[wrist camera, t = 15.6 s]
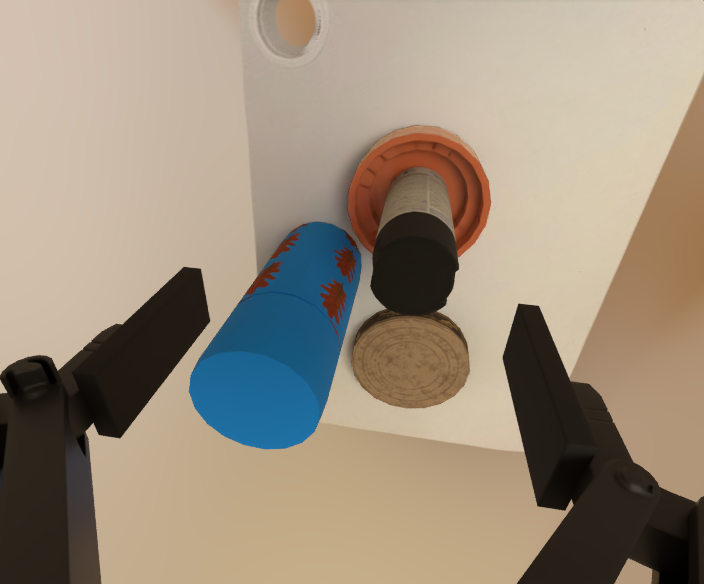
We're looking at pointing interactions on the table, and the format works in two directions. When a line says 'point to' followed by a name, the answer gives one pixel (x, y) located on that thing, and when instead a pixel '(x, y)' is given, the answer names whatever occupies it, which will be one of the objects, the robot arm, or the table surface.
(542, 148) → the table surface
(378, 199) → the dish
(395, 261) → the spray can
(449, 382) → the brown round disc
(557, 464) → the robot arm
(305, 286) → the thermos
